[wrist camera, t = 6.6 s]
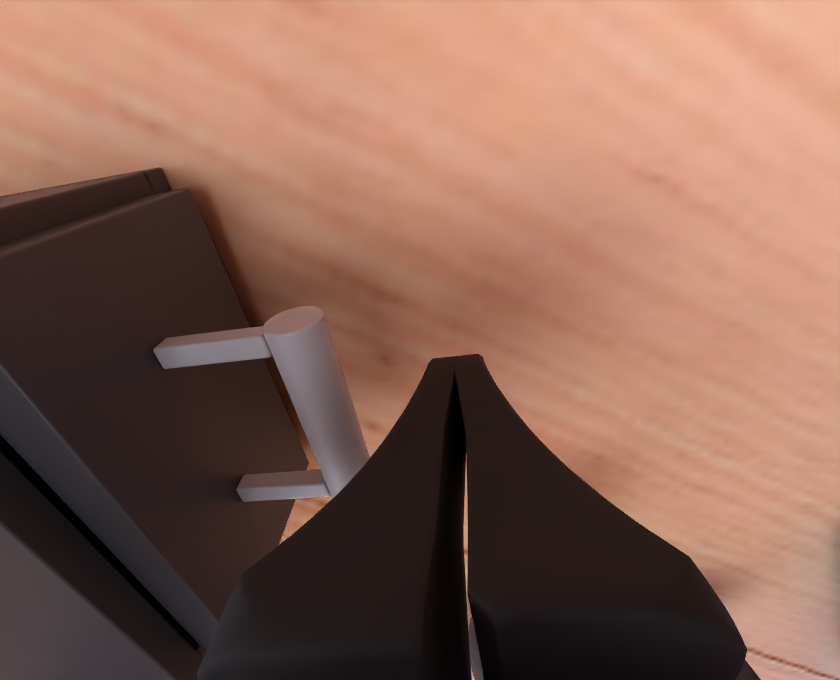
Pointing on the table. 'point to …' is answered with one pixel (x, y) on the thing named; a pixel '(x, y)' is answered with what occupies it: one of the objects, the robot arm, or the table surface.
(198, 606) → the drawer
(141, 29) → the table surface
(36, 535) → the cabinet
